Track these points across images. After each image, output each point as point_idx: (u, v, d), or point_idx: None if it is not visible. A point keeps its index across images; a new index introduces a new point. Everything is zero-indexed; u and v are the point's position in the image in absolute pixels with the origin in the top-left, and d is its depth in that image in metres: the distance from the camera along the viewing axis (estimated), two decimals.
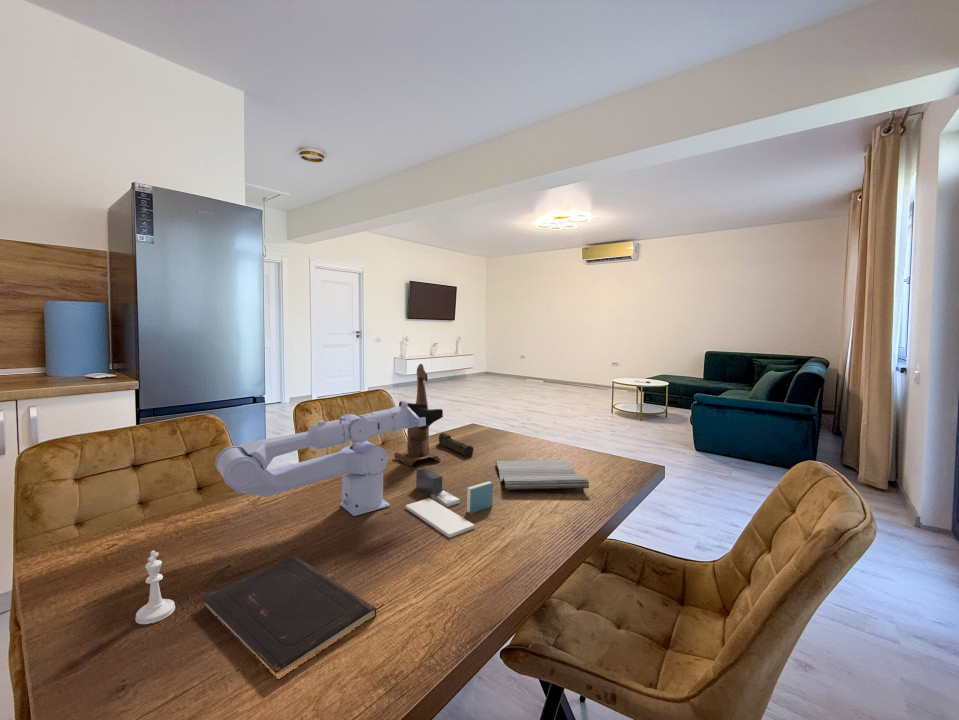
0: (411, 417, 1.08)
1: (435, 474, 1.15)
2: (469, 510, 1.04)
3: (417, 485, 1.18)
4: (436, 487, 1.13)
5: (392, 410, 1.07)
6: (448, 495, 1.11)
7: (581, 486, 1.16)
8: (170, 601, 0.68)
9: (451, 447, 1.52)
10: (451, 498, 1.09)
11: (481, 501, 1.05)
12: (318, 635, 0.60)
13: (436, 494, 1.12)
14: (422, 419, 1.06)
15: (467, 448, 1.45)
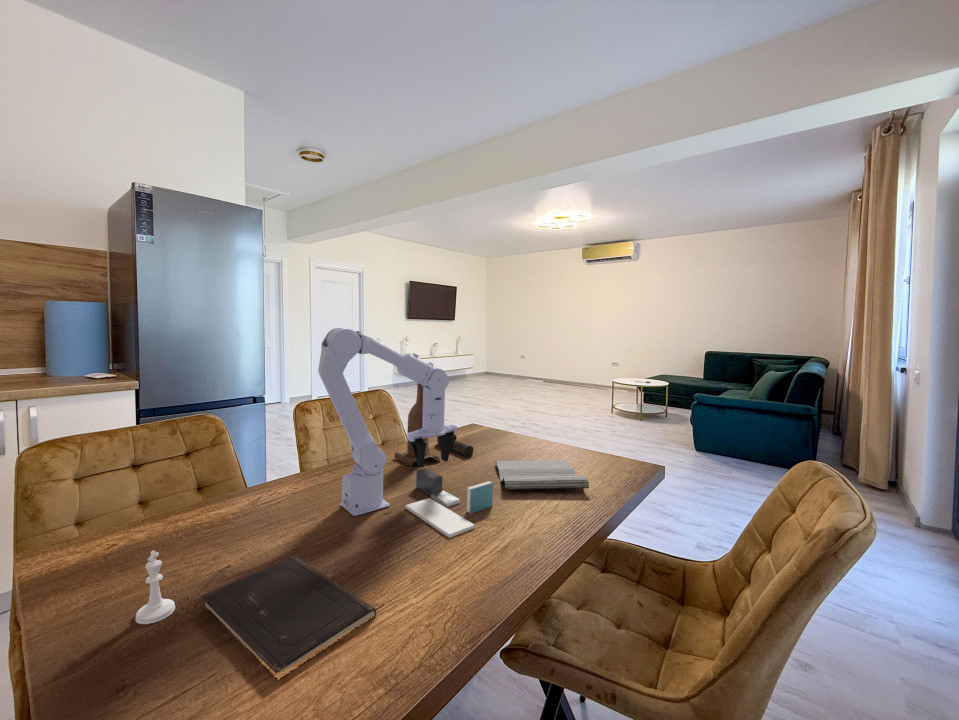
0: (424, 432, 1.11)
1: (435, 474, 1.15)
2: (469, 510, 1.04)
3: (417, 485, 1.18)
4: (436, 487, 1.13)
5: (436, 417, 1.10)
6: (448, 495, 1.11)
7: (581, 486, 1.16)
8: (170, 601, 0.68)
9: None
10: (451, 498, 1.09)
11: (481, 501, 1.05)
12: (318, 636, 0.60)
13: (436, 494, 1.12)
14: (410, 437, 1.08)
15: (467, 448, 1.45)
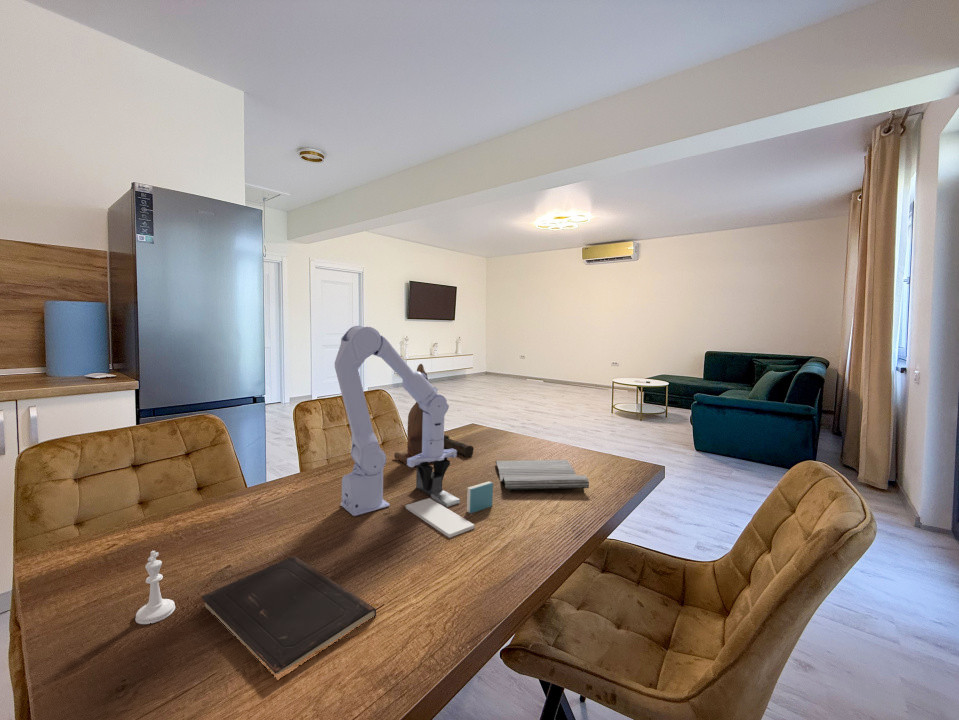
0: (423, 457, 1.12)
1: (435, 474, 1.15)
2: (469, 510, 1.04)
3: (417, 485, 1.18)
4: (436, 487, 1.13)
5: (435, 443, 1.11)
6: (448, 495, 1.11)
7: (581, 486, 1.16)
8: (170, 601, 0.68)
9: (450, 447, 1.51)
10: (451, 498, 1.09)
11: (481, 501, 1.05)
12: (318, 636, 0.60)
13: (436, 494, 1.12)
14: (410, 463, 1.09)
15: (468, 448, 1.45)
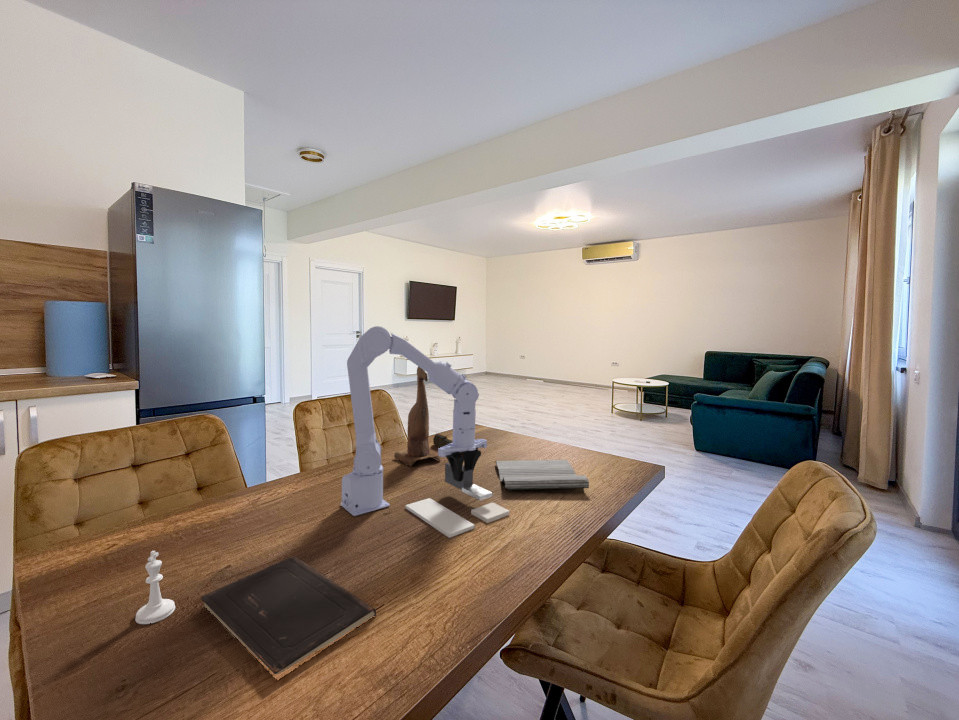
0: (454, 447, 1.08)
1: (466, 467, 1.11)
2: (472, 514, 1.03)
3: (446, 479, 1.14)
4: (467, 480, 1.09)
5: (467, 432, 1.07)
6: (480, 488, 1.08)
7: (581, 486, 1.16)
8: (170, 601, 0.68)
9: None
10: (483, 491, 1.06)
11: None
12: (317, 636, 0.60)
13: (467, 487, 1.08)
14: (442, 453, 1.05)
15: None
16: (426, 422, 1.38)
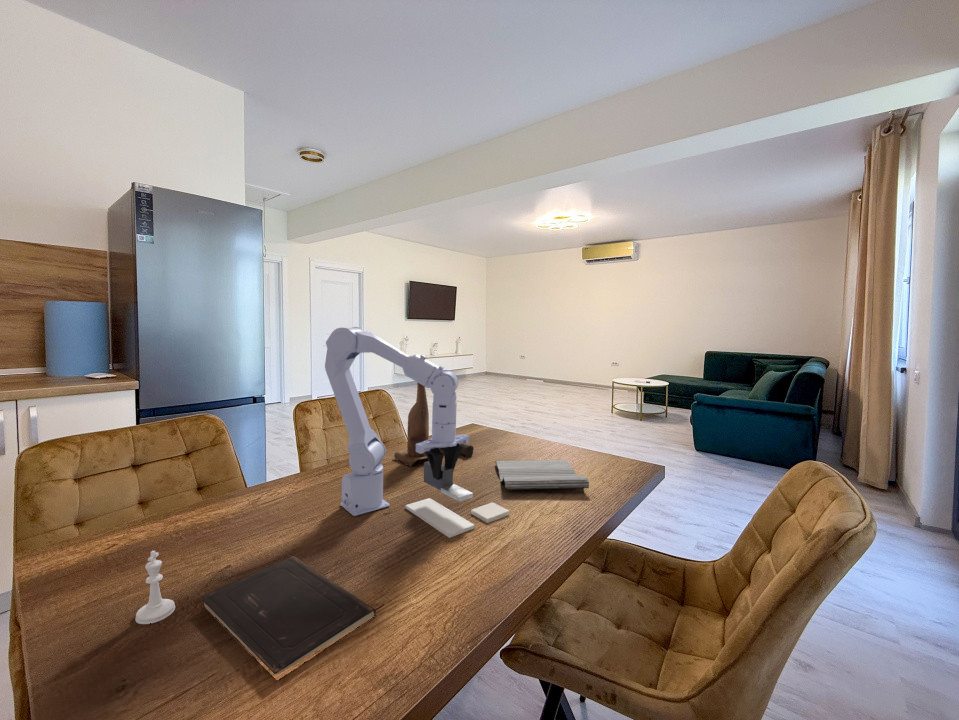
0: (433, 443, 1.01)
1: (445, 466, 1.04)
2: (472, 514, 1.03)
3: (425, 479, 1.07)
4: (446, 480, 1.02)
5: (447, 427, 1.00)
6: (460, 489, 1.01)
7: (581, 486, 1.16)
8: (170, 601, 0.68)
9: None
10: (463, 492, 0.99)
11: None
12: (317, 636, 0.60)
13: (446, 488, 1.01)
14: (419, 449, 0.98)
15: (468, 448, 1.45)
16: (426, 422, 1.38)
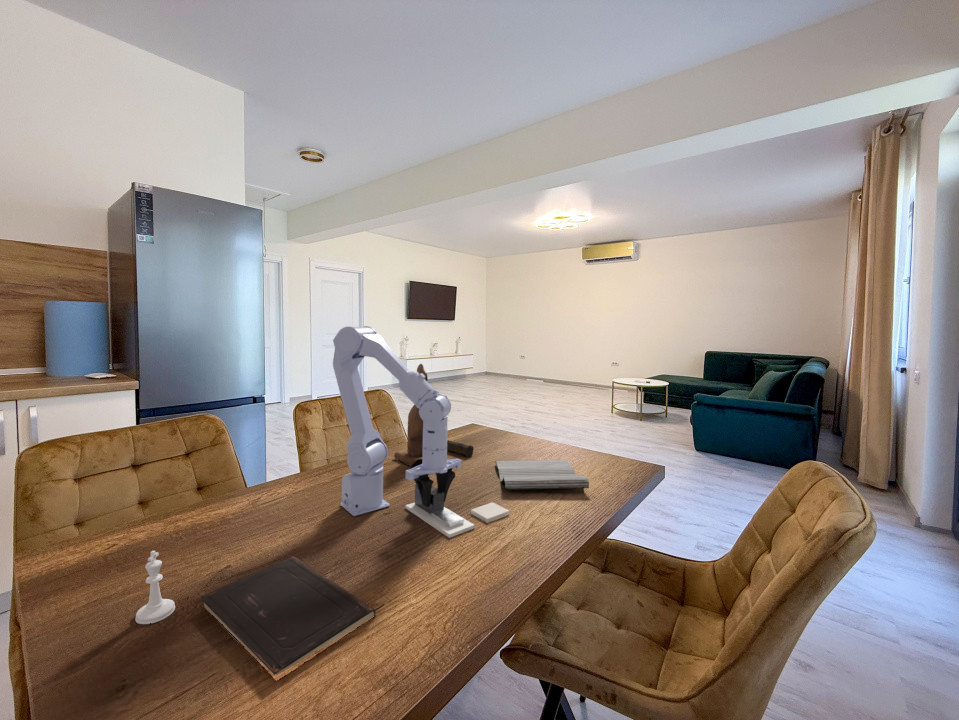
0: (424, 469, 0.99)
1: (436, 490, 1.02)
2: (472, 514, 1.03)
3: (416, 501, 1.05)
4: (437, 504, 1.00)
5: (438, 453, 0.98)
6: (451, 514, 0.99)
7: (581, 486, 1.16)
8: (170, 601, 0.68)
9: (448, 448, 1.50)
10: (454, 518, 0.97)
11: None
12: (317, 637, 0.60)
13: (437, 513, 0.99)
14: (409, 476, 0.96)
15: (468, 448, 1.45)
16: None
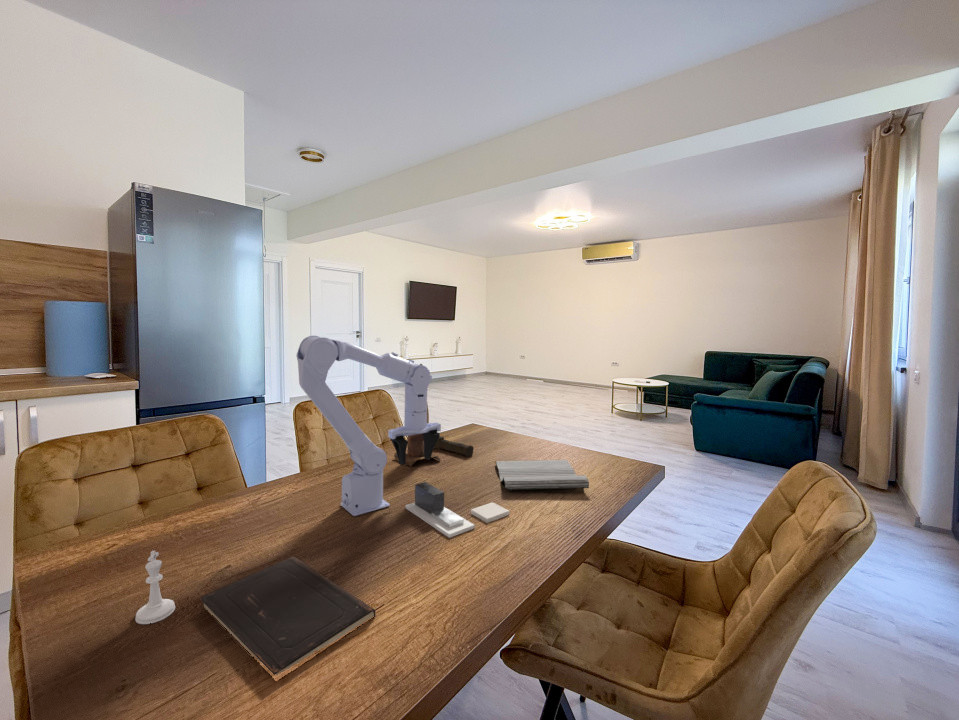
0: (405, 430, 1.09)
1: (436, 490, 1.02)
2: (472, 514, 1.03)
3: (416, 501, 1.05)
4: (437, 504, 1.00)
5: (417, 415, 1.09)
6: (451, 514, 0.99)
7: (581, 486, 1.16)
8: (170, 601, 0.68)
9: (448, 448, 1.50)
10: (454, 518, 0.97)
11: None
12: (316, 637, 0.60)
13: (437, 513, 0.99)
14: (391, 435, 1.07)
15: (469, 448, 1.46)
16: None
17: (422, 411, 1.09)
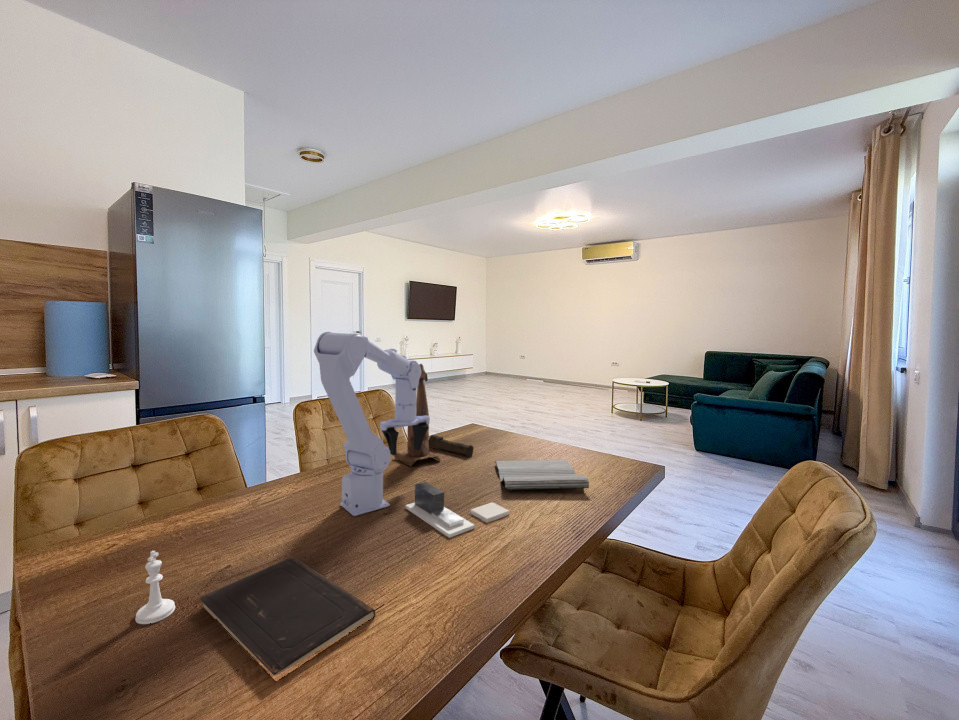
0: (396, 422, 1.16)
1: (436, 490, 1.02)
2: (472, 514, 1.03)
3: (416, 501, 1.05)
4: (437, 504, 1.00)
5: (407, 407, 1.15)
6: (451, 514, 0.99)
7: (581, 486, 1.16)
8: (170, 601, 0.68)
9: (448, 448, 1.50)
10: (454, 518, 0.97)
11: None
12: (316, 637, 0.60)
13: (437, 513, 0.99)
14: (383, 426, 1.13)
15: (469, 448, 1.46)
16: None
17: (412, 404, 1.16)
